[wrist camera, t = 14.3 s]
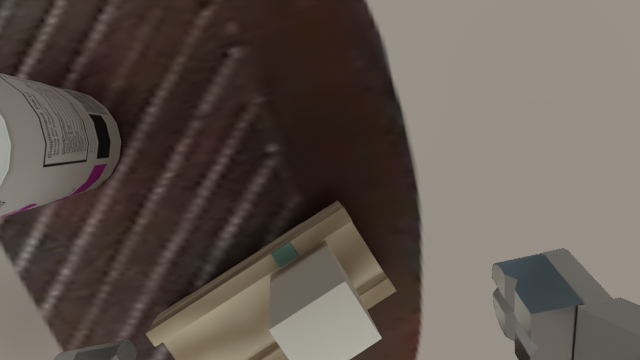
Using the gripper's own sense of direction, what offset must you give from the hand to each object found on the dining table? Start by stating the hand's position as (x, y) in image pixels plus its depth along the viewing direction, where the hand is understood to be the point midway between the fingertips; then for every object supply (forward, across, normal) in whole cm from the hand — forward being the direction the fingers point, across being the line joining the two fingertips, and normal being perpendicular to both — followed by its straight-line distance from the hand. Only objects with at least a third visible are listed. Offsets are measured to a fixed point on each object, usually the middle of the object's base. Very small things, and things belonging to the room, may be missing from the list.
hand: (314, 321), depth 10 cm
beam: (+23, +6, +18) cm, 30 cm away
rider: (+20, +2, +16) cm, 26 cm away
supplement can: (+28, +19, +3) cm, 34 cm away
